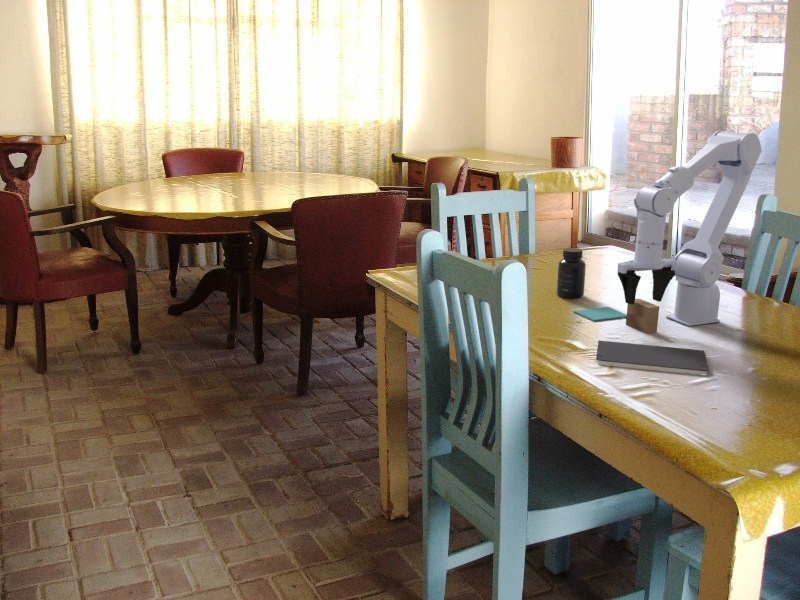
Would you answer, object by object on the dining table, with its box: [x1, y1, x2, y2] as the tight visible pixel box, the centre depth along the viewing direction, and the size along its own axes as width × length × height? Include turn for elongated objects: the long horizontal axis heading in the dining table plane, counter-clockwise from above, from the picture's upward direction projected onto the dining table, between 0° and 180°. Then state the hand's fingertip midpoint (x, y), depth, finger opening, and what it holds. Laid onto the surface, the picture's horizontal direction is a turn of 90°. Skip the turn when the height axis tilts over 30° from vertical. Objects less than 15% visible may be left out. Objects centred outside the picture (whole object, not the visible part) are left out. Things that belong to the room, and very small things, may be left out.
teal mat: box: [573, 306, 627, 322], centre depth 203 cm, size 10×8×1 cm
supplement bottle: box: [556, 247, 586, 300], centre depth 218 cm, size 7×7×12 cm
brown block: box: [625, 298, 660, 335], centre depth 193 cm, size 7×3×6 cm, turn 24°
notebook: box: [595, 339, 710, 375], centre depth 173 cm, size 13×2×21 cm
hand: (643, 301), depth 192 cm, fingers open, 7 cm apart
